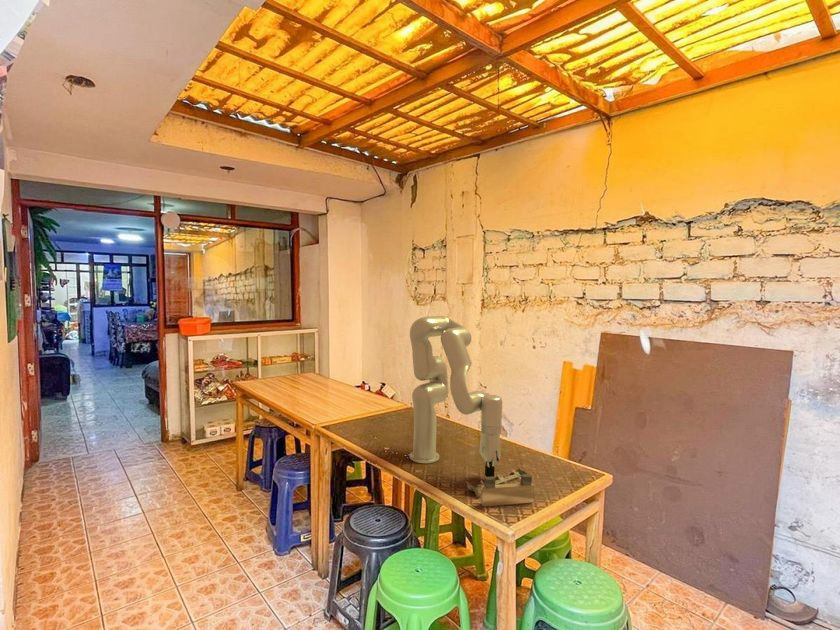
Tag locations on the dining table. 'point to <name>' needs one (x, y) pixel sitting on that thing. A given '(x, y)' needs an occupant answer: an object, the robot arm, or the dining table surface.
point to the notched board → (507, 492)
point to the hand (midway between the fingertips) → (489, 476)
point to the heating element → (497, 481)
